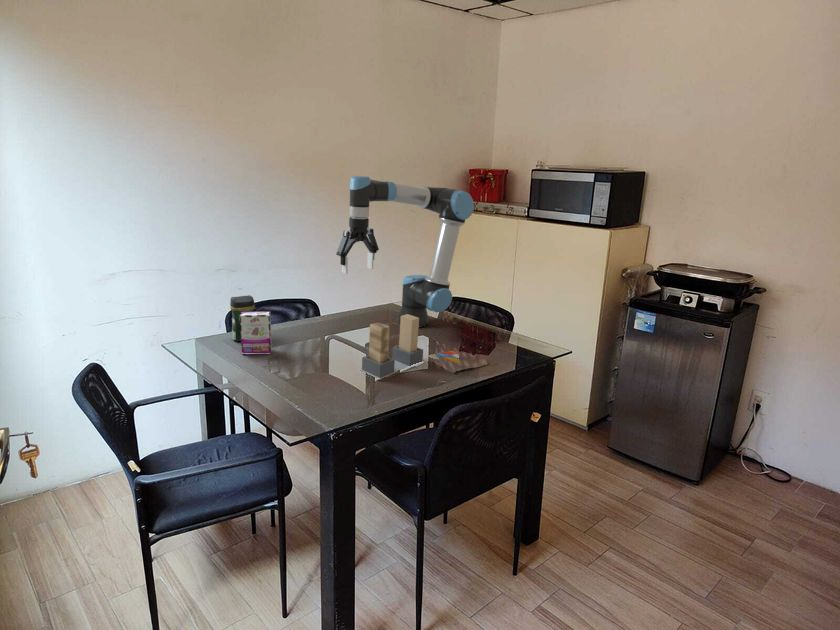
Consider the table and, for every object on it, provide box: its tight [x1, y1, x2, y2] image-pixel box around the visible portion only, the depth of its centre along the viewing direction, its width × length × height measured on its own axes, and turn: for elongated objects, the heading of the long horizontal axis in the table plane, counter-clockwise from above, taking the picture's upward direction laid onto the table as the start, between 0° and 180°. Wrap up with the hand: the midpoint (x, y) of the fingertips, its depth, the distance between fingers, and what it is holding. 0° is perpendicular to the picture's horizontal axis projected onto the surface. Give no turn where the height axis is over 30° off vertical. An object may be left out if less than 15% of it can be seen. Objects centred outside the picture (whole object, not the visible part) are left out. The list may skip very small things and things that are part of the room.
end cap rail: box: [359, 314, 424, 378], centre depth 210 cm, size 25×10×19 cm, turn 138°
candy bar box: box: [240, 311, 272, 354], centre depth 216 cm, size 11×5×16 cm, turn 102°
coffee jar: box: [229, 294, 256, 342], centre depth 229 cm, size 10×8×19 cm
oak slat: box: [368, 321, 390, 364], centre depth 204 cm, size 4×6×18 cm, turn 48°
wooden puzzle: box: [427, 350, 460, 363], centre depth 222 cm, size 18×19×4 cm
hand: (357, 270), depth 220 cm, fingers open, 13 cm apart
